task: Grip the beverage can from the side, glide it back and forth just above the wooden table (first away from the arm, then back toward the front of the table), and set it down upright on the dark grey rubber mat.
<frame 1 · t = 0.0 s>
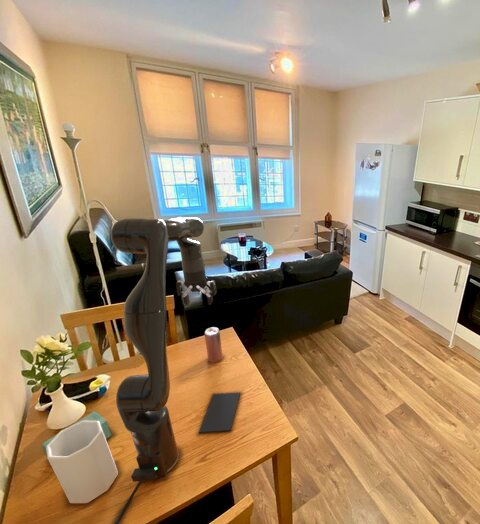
hand: (199, 303, 117), 29 cm above the table, tool pointing down, fingers open, 8 cm apart
box: (82, 448, 90), on the table
cup: (94, 482, 82), on the table
beverage can: (215, 358, 130), on the table
mat: (221, 411, 105), on the table
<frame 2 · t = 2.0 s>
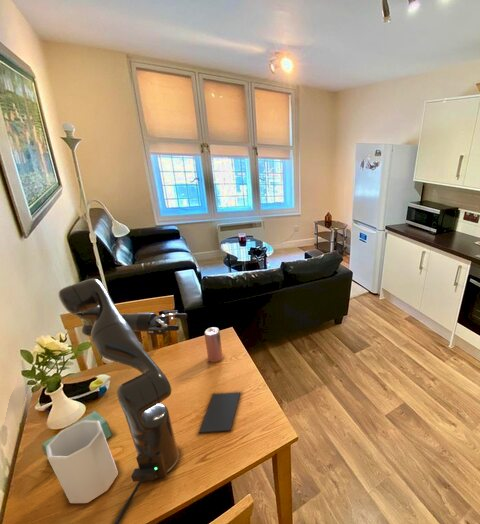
hand: (182, 321, 121), 20 cm above the table, tool horizontal, fingers open, 8 cm apart
nothing on the table moved.
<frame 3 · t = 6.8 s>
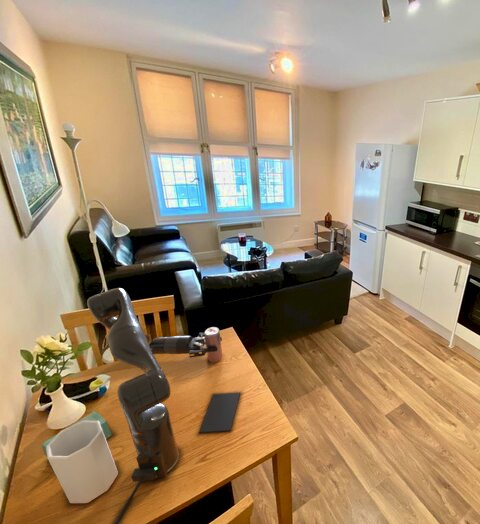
hand: (219, 343, 127), 8 cm above the table, tool horizontal, fingers closed on beverage can, 6 cm apart
beverage can: (215, 358, 130), on the table, touching gripper
everything else where it was.
when the fingers open (9 cm above the table, at t = 15.3 s): beverage can stays where it is, resting on mat.
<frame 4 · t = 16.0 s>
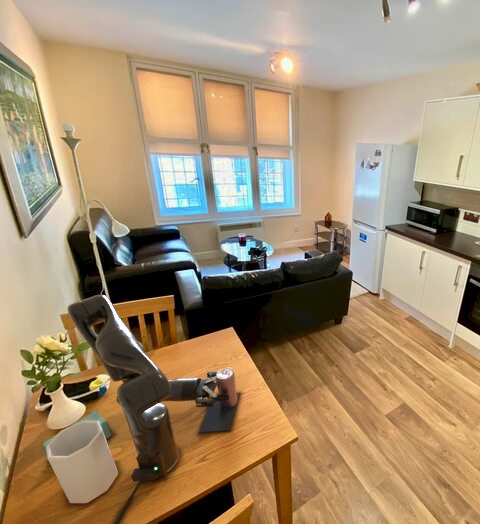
hand: (231, 387, 105), 9 cm above the table, tool horizontal, fingers open, 8 cm apart
beverage can: (228, 403, 108), resting on mat
everything else where it was.
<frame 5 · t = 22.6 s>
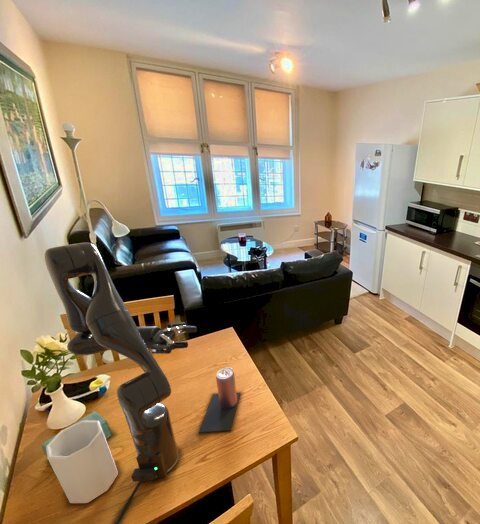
hand: (192, 336, 100), 28 cm above the table, tool horizontal, fingers open, 8 cm apart
nothing on the table moved.
at the end: beverage can inside the target area on the mat (2.3 cm from its centre), point 0.3 cm above the mat's base; beverage can tilted 0°; the gripper is holding nothing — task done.
